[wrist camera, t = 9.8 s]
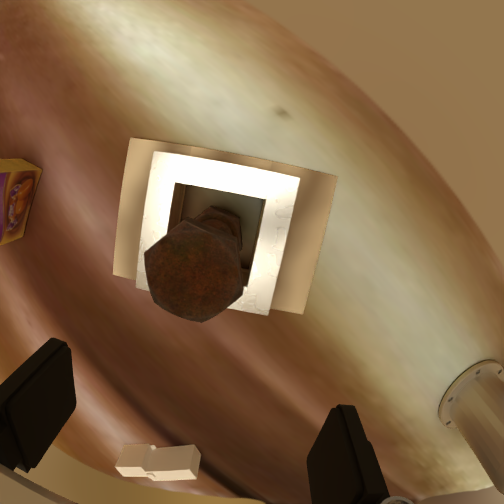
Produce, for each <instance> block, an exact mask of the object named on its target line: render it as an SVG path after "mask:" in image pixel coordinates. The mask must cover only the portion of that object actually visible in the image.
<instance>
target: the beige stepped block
mask: <svg viewBox="0 0 504 504" xmlns="http://www.w3.org/2000/svg"><path fill="white" fill-rule="evenodd" d="M200 457H201V454H200V452H199V451H198V449H197V448H196V446H195V445H186V446H176V447H165V448H156V447H155V445H150V444H132V445H124V446H123V449H122V451H121V454H120V456H119V458H118V461H117V463H116V466H115V468H116V469H117V470H118V471H119V472H120V473H121V474H122V475H123V476H131V477H146V476H147V477H148V478H151V479H152V480H153V481H168V480H187V479H197V474H198V469H199V463H200Z"/></svg>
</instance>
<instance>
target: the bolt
mask: <svg viewBox="0 0 504 504" xmlns="http://www.w3.org/2000/svg"><path fill="white" fill-rule="evenodd" d="M240 250H242V236H241V228H240V221H239V217H237V216H235V215H233V214H231V213H229V212H227V211H224V210H222V209H219V208H217V207H214V206H210V207H209V208H208V209H206V210H205V211H204V212H202V213H201V214H200V215H199V216H197V217H196V218H195V219H192V218H189V217H187V218H186V219H185V220H183V221H182V222H181V223H180V224H178V225H177V226H176V227H174V228H173V229H172V230H171V231H169V232H168V233H167V234H166V235H165V236H163V237H162V238H161V239H160V240H158V241H157V242H156V243H155V244H154V245H152V246H151V247H150V248H149V249H148V250H147V251H145V252H144V265H145V272H146V278H147V283H148V287H149V290H150V293H151V296H152V298H153V300H154V303H156V304H157V305H158V306H160V307H161V308H163V309H164V310H166V311H168V312H170V313H171V314H174V315H176V316H179V317H181V318H184V319H187V320H191V321H196V322H201V323H202V322H205V321H207V320H209V319H211V318H213V317H214V316H216V315H218V314H219V313H220V312H222V311H223V310H225V309H226V308H227V307H229V306H230V305H231V304H233V303H234V302H235V301H236V300H238V299H239V298H240V297H241V296H242V295H243V290H244V285H243V278H242V270H241V263H240V255H239V251H240Z"/></svg>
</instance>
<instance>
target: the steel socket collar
mask: <svg viewBox="0 0 504 504" xmlns="http://www.w3.org/2000/svg"><path fill="white" fill-rule="evenodd" d="M299 181H300V178H297V177H293V176H289V175H284V174H280V173H275V172H270V171H266V170H261V169H256V168H251V167H246V166H241V165H236V164H231V163H225V162H220V161H214V160H209V159H203V158H197V157H191V156H185V155H178V154H172V153H165V152H158V151H154V154H153V159H152V165H151V170H150V176H149V182H148V188H147V195H146V201H145V208H144V215H143V223H142V230H141V238H140V247H139V256H138V266H137V277H136V288H139V289H143V290H147V291H150V290H149V287H148V283H147V278H146V272H145V265H144V252H145V251H147V250H148V249H149V248H150V247H151V246H152V245H154V244H155V243H156V242H157V241H158V240H160V239H161V238H162V237H163V236H165V235H166V234H167V233H168V232H169V231H171V230H172V229H173V228H174V227H176V226H177V225H178V220H179V214H180V208H181V202H182V196H183V190H184V185H185V184H189V185H195V186H200V187H206V188H211V189H216V190H222V191H227V192H232V193H237V194H242V195H247V196H252V197H257V198H262V199H264V203H263V207H262V212H261V217H260V221H259V226H258V231H257V235H256V240H255V245H254V250H253V254H252V259H251V264H250V268H249V273H248V272H243V271H242V278H243V285H244V290H243V295H242V296H241V297H240V298H239V299H238V300H236V301H235V302H234V303H233V304H231V305H230V306H229V307H227V308H230V309H236V310H241V311H246V312H251V313H257V314H262V315H267V316H268V313H269V309H270V305H271V301H272V297H273V293H274V289H275V285H276V281H277V277H278V272H279V268H280V264H281V260H282V256H283V251H284V247H285V243H286V238H287V234H288V230H289V225H290V221H291V217H292V212H293V208H294V203H295V199H296V194H297V190H298V185H299Z"/></svg>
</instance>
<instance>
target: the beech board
mask: <svg viewBox="0 0 504 504" xmlns="http://www.w3.org/2000/svg"><path fill="white" fill-rule="evenodd" d="M154 151H158V152H165V153H172V154H178V155H185V156H191V157H197V158H203V159H209V160H214V161H220V162H225V163H231V164H236V165H241V166H246V167H251V168H256V169H261V170H266V171H270V172H275V173H280V174H284V175H289V176H293V177H297V178H300V181H299V185H298V190H297V194H296V199H295V203H294V208H293V212H292V217H291V221H290V225H289V230H288V234H287V238H286V243H285V247H284V251H283V256H282V260H281V264H280V268H279V272H278V277H277V281H276V285H275V289H274V293H273V297H272V301H271V305H270V308H271V309H276V310H282V311H287V312H293V313H299V314H303V312H304V308H305V305H306V301H307V298H308V294H309V290H310V287H311V283H312V279H313V276H314V272H315V268H316V265H317V261H318V257H319V253H320V249H321V245H322V241H323V237H324V233H325V229H326V225H327V221H328V217H329V213H330V208H331V204H332V200H333V196H334V191H335V187H336V182H337V178H338V177H337V176H333V175H329V174H325V173H321V172H317V171H313V170H309V169H305V168H300V167H296V166H292V165H287V164H283V163H278V162H274V161H269V160H264V159H259V158H255V157H250V156H244V155H239V154H234V153H229V152H223V151H218V150H212V149H206V148H200V147H194V146H188V145H181V144H174V143H167V142H160V141H153V140H145V139H137V138H130V143H129V148H128V153H127V159H126V165H125V171H124V177H123V184H122V191H121V198H120V205H119V213H118V222H117V231H116V241H115V253H114V266H113V275H116V276H120V277H125V278H129V279H133V280H136V277H137V266H138V256H139V247H140V238H141V230H142V223H143V215H144V208H145V201H146V195H147V188H148V182H149V176H150V170H151V165H152V159H153V154H154ZM186 185H187V184H185V185H184V190H183V196H182V202H181V208H180V214H179V220H178V224H180V220H181V214H182V208H183V202H184V197H185V191H186ZM263 203H264V200H263ZM262 207H263V205H262ZM261 212H262V210H261ZM260 217H261V214H260ZM259 221H260V219H259ZM258 226H259V224H258ZM257 231H258V229H257ZM256 235H257V233H256ZM255 240H256V238H255ZM254 245H255V243H254ZM253 250H254V247H253ZM252 254H253V252H252ZM251 259H252V257H251ZM250 264H251V261H250ZM249 268H250V266H249ZM241 270H242V271H243V272H248V273H249V269H244V268H241Z"/></svg>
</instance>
